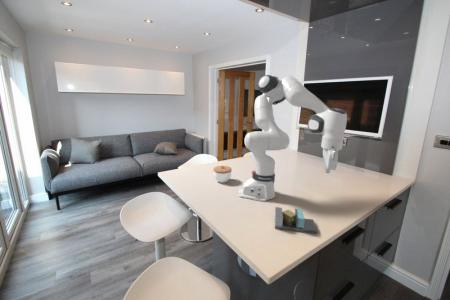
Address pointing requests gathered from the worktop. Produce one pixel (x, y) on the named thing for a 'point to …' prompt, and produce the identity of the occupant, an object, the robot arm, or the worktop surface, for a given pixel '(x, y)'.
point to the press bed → (279, 224)
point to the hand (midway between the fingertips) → (327, 172)
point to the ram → (299, 218)
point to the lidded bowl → (222, 173)
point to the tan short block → (289, 217)
